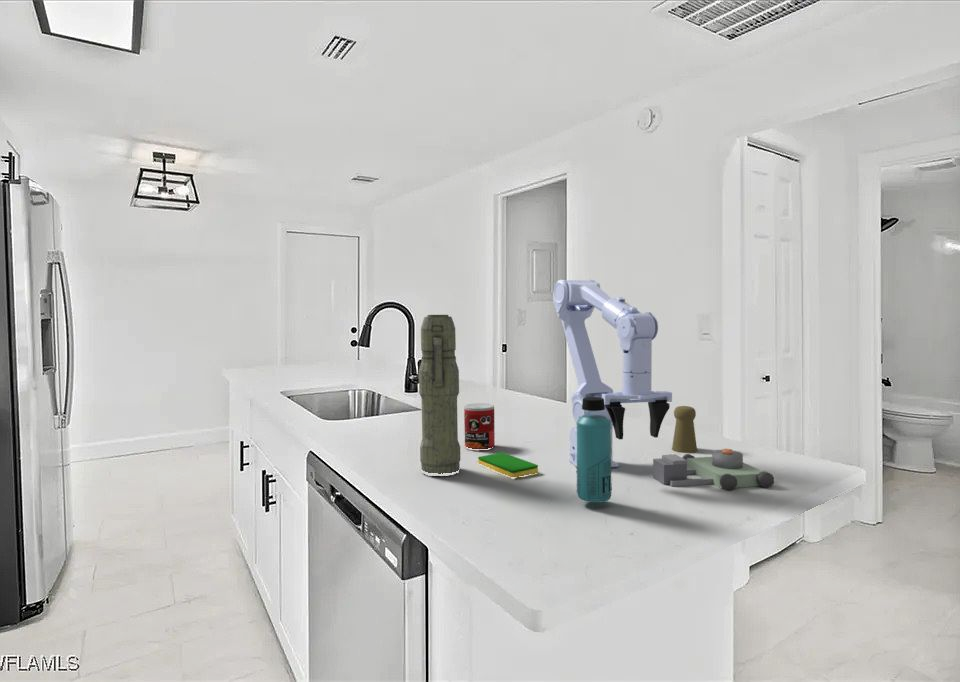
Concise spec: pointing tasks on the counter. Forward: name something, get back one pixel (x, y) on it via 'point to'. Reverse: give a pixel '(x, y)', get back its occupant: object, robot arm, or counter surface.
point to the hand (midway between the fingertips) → (636, 437)
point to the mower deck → (724, 471)
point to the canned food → (479, 426)
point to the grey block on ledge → (669, 468)
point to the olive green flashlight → (439, 396)
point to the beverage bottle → (593, 453)
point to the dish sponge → (508, 464)
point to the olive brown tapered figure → (684, 430)
